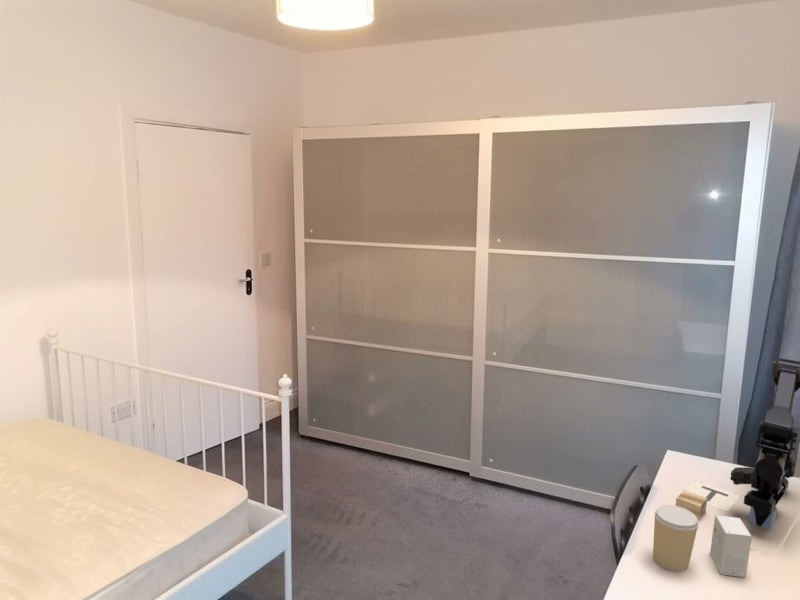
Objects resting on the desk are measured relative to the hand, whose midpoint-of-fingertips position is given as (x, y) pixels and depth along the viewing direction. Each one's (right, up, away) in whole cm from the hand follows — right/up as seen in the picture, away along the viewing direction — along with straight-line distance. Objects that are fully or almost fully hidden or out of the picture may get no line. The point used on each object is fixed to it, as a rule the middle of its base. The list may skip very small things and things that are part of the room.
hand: (761, 520), depth 160 cm
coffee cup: (-31, -4, -17) cm, 36 cm away
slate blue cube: (0, -1, 0) cm, 1 cm away
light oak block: (-17, 0, +4) cm, 18 cm away
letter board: (-7, +2, +13) cm, 15 cm away
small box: (-19, -4, -18) cm, 26 cm away
